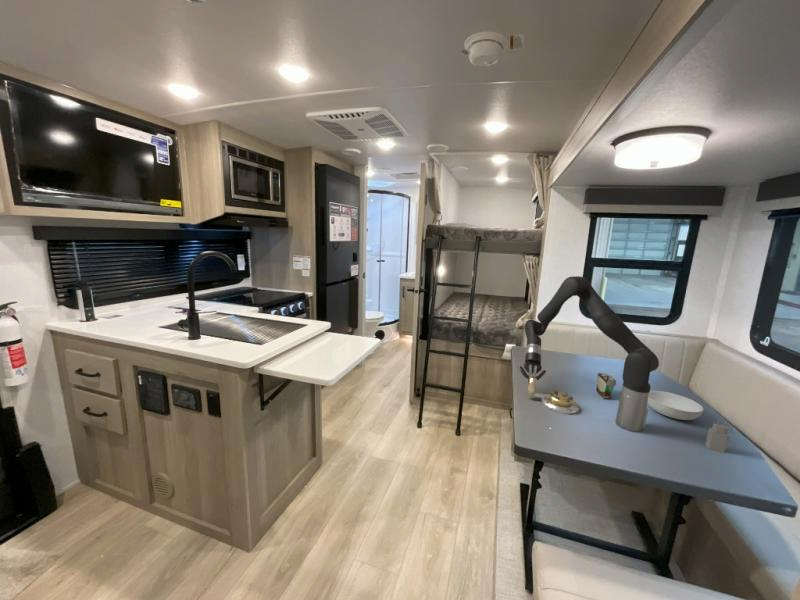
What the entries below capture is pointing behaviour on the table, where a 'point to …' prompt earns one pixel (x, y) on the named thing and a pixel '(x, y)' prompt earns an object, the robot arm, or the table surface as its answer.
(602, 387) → the food container
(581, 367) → the table surface
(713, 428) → the power adapter
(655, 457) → the table surface
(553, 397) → the crank handle
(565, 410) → the plate
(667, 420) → the table surface
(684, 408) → the serving bowl
